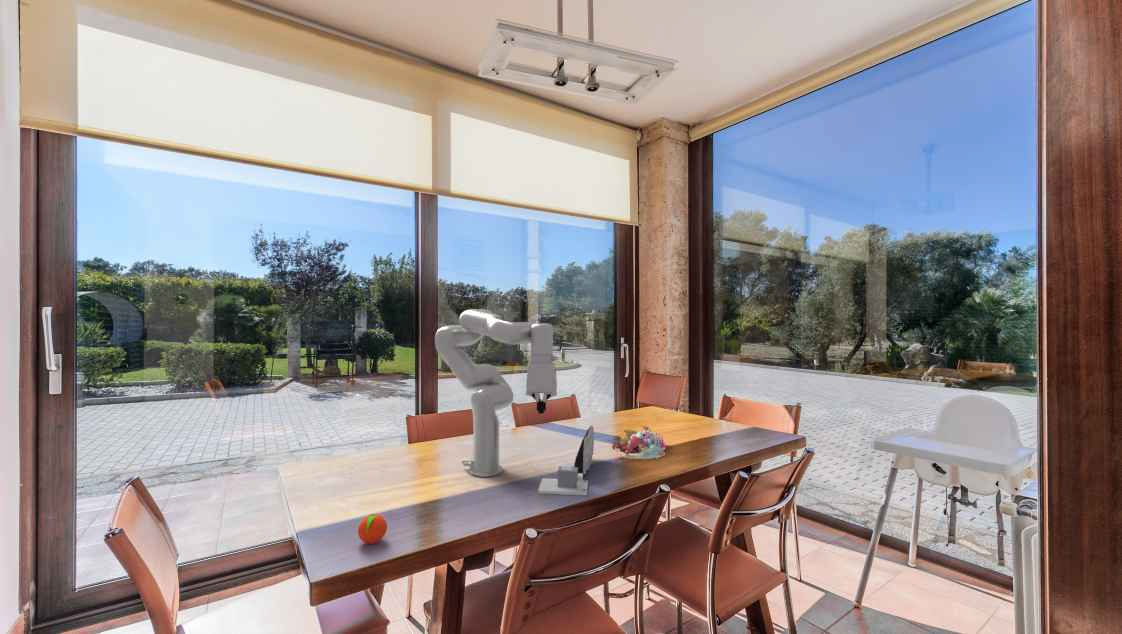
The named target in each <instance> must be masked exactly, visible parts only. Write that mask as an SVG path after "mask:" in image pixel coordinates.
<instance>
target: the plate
mask: <svg viewBox="0 0 1122 634" xmlns="http://www.w3.org/2000/svg"><path fill="white" fill-rule="evenodd" d="M583 478H584V474H580V473H578V479H577V488H561V487H558V478H546V477H545V478H541V482H540V484H539V486H538V489H537V494H542V495H543V494H544V495H545V494H546V495H547V494H548V495H566V496H568V495H569V496H572V495H573V496H587V495H588V484H589V482H588V481H589V480H588V479H583Z"/></svg>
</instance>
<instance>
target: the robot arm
mask: <svg viewBox="0 0 1122 634" xmlns="http://www.w3.org/2000/svg"><path fill="white" fill-rule="evenodd" d="M458 320H459V324H456V325H455V324H454V325H444V326H442V327H441V328H439V329H437V331H436V333H435V335H434V346H435V350H436V351H437V352H436V353H438V355H439V356H440V358H441V359H442V360H443V362H444V363H445V364H446V365H447V366H448V367H449V368H450V370H451V372H452V373H453V375H454V376H455V378H457V380H458V382H459V383H460V384H461V386H462V387H463V388H464V389H465V390H467V391H473V393H472V394H471V397H470V404H471V410H472V417H473V419H472V420H473V421H472V423H473V425H472V426H473V442H472V445H473V453H472V454H473V457H472V458H471V459H468V458H463V459H462V461H461V462H462V463H461V464H462V465H463V467H469V468H468V473H469V474H470V475H471V476H474V477H478V478H479V477H481V478H487V477H494V476H499V475H500V474H502V473H503V471H504V466H502V464H500V421H499V417H498V415H497V413H496V411H500V410H503V409H507V408H509V407H510V406H511V405H512V403H513V401H514V392H513V389H512V388H511V386H510V385H509V383H508V382H507V381H506V379H505V378H504V377H503V375H502V374H501V373H500V371H499V370H498V369H497V368H496V367H495V366H493V365H492V364H489V363H481V364H480V363H479V364H477V363H475V362H474V361H473V360H472V358H471V356H469V354H468V353H466V351H464V350H463V349H461V348H460V347H468V346H472V345H474V344H476V343H478V341H480V340H481V339H483V337H484V336H487V337H489V338H490V339H492V340H494V341H496V342H500V343H503V344H507V345H525V344H530V362H528V366H527V373H526V383H525V384H526V385H525V387H526V391H525V396H527V397H528V396H529V397H532V398H533V399H534V400H535V402H536V411H538V414H542V415H543V414H544V413H545V412H546V411H547V401H548V400H549V399H550V398H553V397H557V395H558V393H557V387H558V386H557V385H558V384H557V382H558V381H557V378H558V376H557V369H556V368H557V367H556V363H555V362H554V361H558V357H557V356H556V355H554V353H553V352H554V327H553V325H552V323H544V322H543V323H538V322H536V323H535V322H529V321H527V322H525V321H524V322H522V321H521V322H519V321H517V322H511V321H506V320H503V319H502V318H501V316H500V315H499V314H496V313H493V312H492V311H490V309H489V310H488V309H485V308H484V309H483V308H481V309H480V308H479V309H478V308H477V309H475V308H471V309H469V308H468V309H466V310H464V311H463V312H462V313H461V314H460V316H459V319H458ZM541 394H542V395H543V397H542V399H541V396H540V395H541Z"/></svg>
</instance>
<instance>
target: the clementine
mask: <svg viewBox="0 0 1122 634" xmlns="http://www.w3.org/2000/svg"><path fill="white" fill-rule="evenodd" d="M387 530H388V523H387V521H386V518H384V517H383V516H382V515H380V514H377V513H371V514H369V515H366V516H365V517H364V518H363V519H362V520H361V521H360V523H359V525H358V529H357V532H358V537H359V539H360V540H361V542H363V543H365V544H369V545H371V544H373V545H374V544H375V543H379V542H380V541H381V540H382V539H383V538H384V537H385V535H386V533H387Z"/></svg>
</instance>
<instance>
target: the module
mask: <svg viewBox="0 0 1122 634" xmlns="http://www.w3.org/2000/svg"><path fill="white" fill-rule="evenodd" d="M557 479H558V487H561V488H577V479H578V467H574V466H558V469H557Z"/></svg>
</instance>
